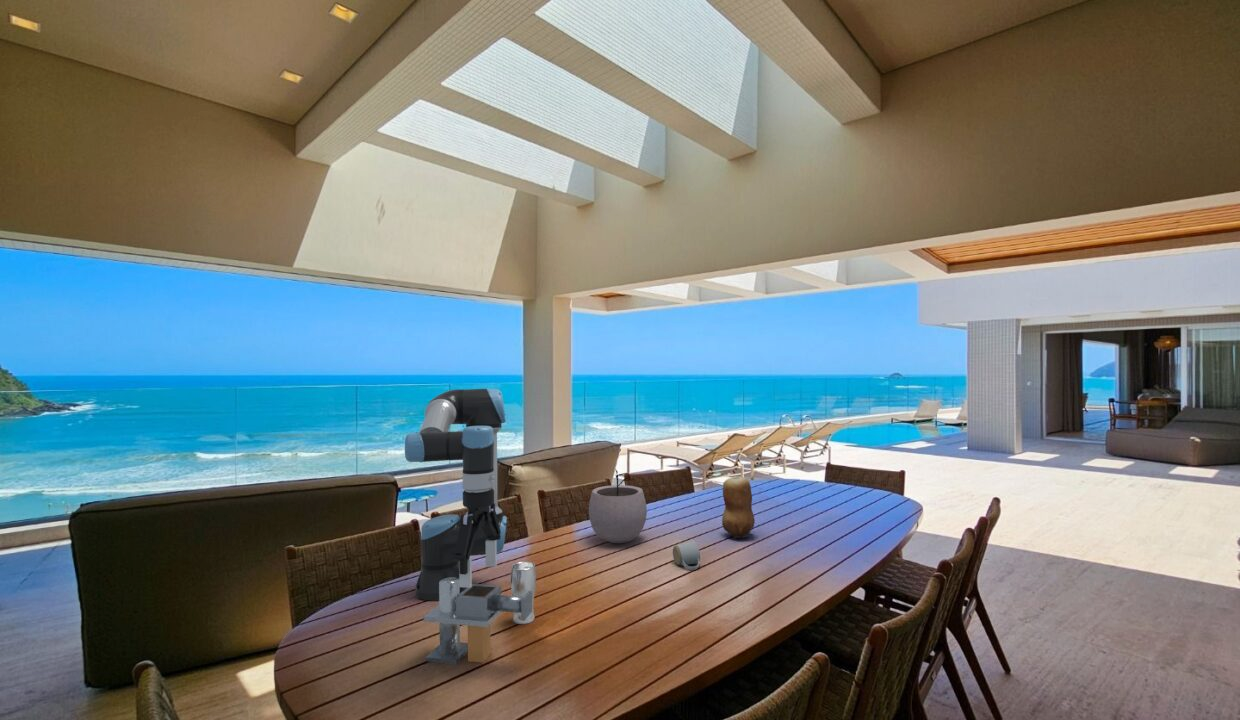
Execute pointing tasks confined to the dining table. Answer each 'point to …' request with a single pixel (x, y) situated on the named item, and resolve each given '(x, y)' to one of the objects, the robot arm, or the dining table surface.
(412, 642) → the dining table surface
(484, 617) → the bracket
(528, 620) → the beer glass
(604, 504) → the plant pot
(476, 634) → the tan wooden block
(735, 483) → the butternut squash
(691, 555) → the ceramic mug
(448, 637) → the metal pedestal stand
